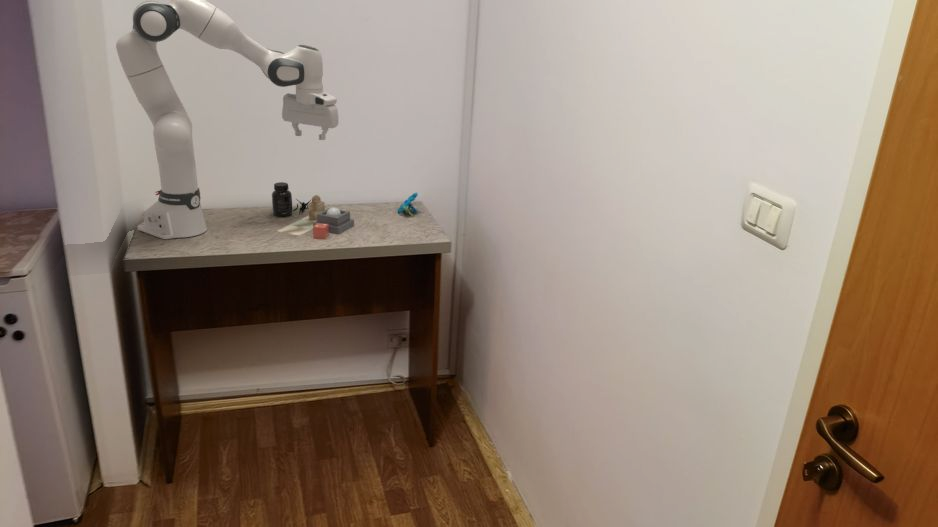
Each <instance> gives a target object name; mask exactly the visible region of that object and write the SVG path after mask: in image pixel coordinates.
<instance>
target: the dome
mask: <svg viewBox="0 0 938 527" xmlns="http://www.w3.org/2000/svg"><path fill="white" fill-rule="evenodd" d="M329 208H330V209H329ZM329 208H328V209H329V210H328V211H327V214H326V215H329V216H334V217H337V216H339V215H341V212H340V210H341V209H339V208H338V207H334V206H333V207H329Z"/></svg>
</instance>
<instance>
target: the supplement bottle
mask: <svg viewBox="0 0 938 527" xmlns="http://www.w3.org/2000/svg"><path fill="white" fill-rule="evenodd" d="M273 190H274V191H272V193H271V202H272V215H273V216H274V217H276V218H288V217H291V216H293V214H294V213H293V212H294V211H293V197H292V196H293V195H292V192H291V191H290V190H289V184H288V182H284V181H282V182H280V181H279V182H276V183H274V184H273Z"/></svg>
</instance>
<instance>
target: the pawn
mask: <svg viewBox="0 0 938 527" xmlns="http://www.w3.org/2000/svg"><path fill="white" fill-rule="evenodd" d="M308 202H309V201H308ZM325 206H326V205H325V201H323V200H322V199H321V197H320V195H318V194H316V195H313V196H312V197H311V201H310V202H309V203H308V209H309V210H308V209H307V210H308V215H309V219H311V220H316V221H317V214H319V213H321V212H323V211H325V210H326V208H325Z"/></svg>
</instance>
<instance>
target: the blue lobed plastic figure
mask: <svg viewBox="0 0 938 527" xmlns="http://www.w3.org/2000/svg"><path fill="white" fill-rule="evenodd" d="M418 195H419V194H418V192H415V193H414V192H413V193H412V195H409V196H408V198H407V199H405V200H404V203H402V204H400V206H399V208H398V209H397V213H399V214H400V213H403V211H405V213H406V214H409V215H410V216H411V217H413V216H414V214H413V213H412V212H411V211H410V210H412V211H413V212H414V213H415V214H417V213H418V209H417V208H415V206H413V203H412V202H414V201H415V200H416V198H417V197H418Z"/></svg>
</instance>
